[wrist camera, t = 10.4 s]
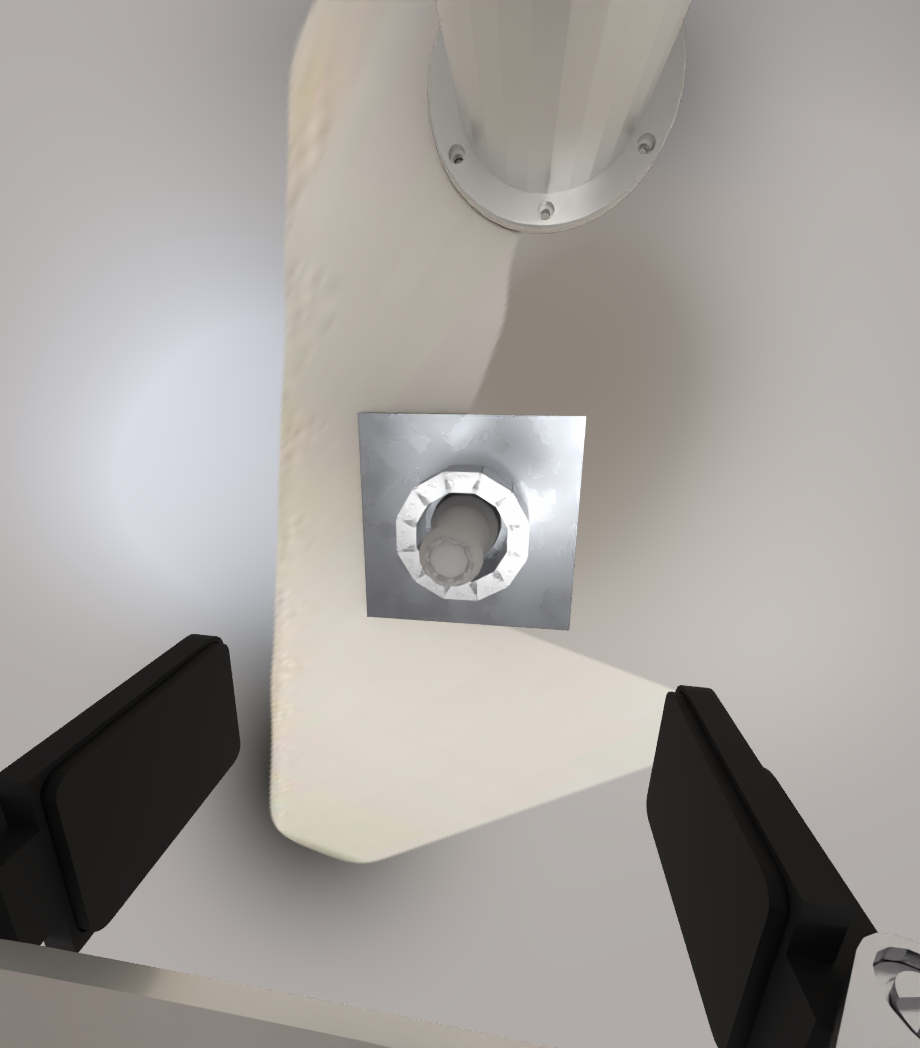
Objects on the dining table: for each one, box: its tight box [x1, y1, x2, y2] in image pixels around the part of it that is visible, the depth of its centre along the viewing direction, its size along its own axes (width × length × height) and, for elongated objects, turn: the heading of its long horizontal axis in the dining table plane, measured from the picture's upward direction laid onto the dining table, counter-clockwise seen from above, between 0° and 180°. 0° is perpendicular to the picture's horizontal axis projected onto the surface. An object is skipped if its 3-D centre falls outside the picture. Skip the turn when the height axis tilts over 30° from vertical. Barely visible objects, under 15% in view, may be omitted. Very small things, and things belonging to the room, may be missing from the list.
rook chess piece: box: [419, 493, 501, 587], centre depth 26 cm, size 4×4×8 cm
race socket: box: [358, 413, 586, 630], centre depth 28 cm, size 14×14×4 cm
